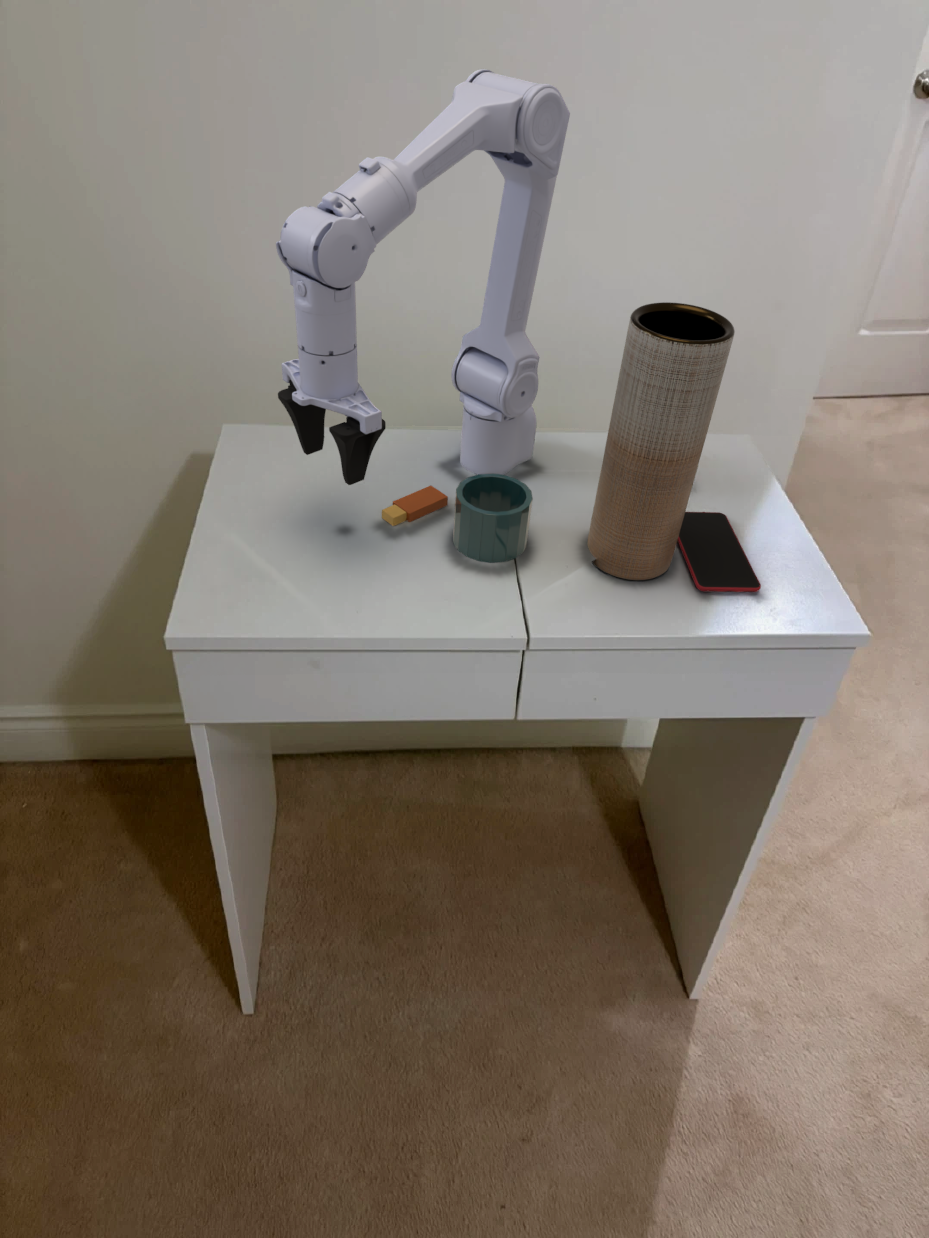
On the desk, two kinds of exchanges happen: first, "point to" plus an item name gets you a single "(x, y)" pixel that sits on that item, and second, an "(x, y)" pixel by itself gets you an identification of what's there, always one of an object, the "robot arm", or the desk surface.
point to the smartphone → (715, 554)
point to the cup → (492, 517)
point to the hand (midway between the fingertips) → (333, 465)
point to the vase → (656, 435)
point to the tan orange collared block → (415, 506)
